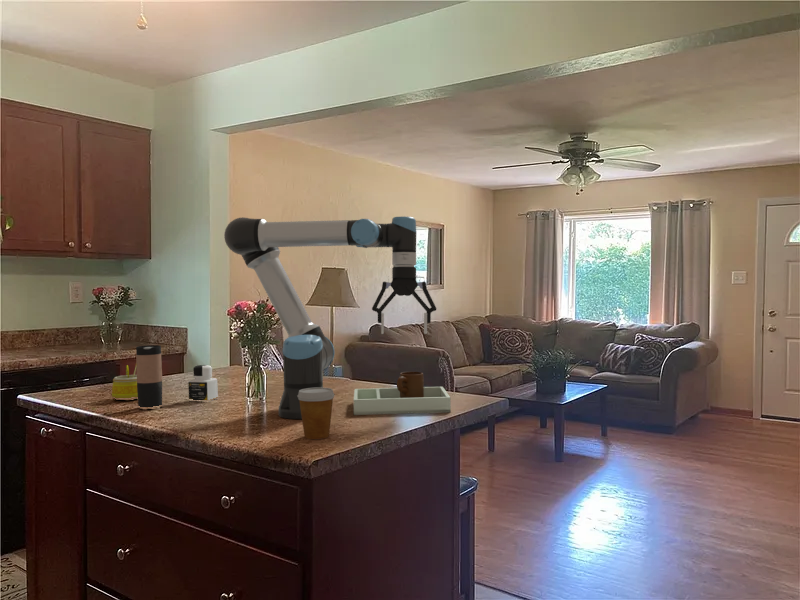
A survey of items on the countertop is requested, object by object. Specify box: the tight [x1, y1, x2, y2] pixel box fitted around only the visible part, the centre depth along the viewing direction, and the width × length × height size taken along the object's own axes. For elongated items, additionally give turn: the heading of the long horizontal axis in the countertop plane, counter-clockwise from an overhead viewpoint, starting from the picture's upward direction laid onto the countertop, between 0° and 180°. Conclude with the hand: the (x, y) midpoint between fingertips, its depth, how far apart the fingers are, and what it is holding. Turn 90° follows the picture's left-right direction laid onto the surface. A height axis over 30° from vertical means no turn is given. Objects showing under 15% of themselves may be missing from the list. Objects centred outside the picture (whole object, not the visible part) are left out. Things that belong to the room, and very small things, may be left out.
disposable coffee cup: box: [297, 387, 336, 440], centre depth 167 cm, size 10×10×12 cm
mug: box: [396, 371, 425, 398], centre depth 204 cm, size 12×8×9 cm, turn 148°
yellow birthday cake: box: [111, 363, 138, 398], centre depth 228 cm, size 13×11×12 cm
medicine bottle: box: [187, 364, 219, 400], centre depth 223 cm, size 7×7×12 cm
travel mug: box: [135, 344, 163, 407], centre depth 210 cm, size 8×8×20 cm
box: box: [353, 386, 452, 416], centre depth 204 cm, size 29×20×4 cm
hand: (404, 333), depth 205 cm, fingers open, 13 cm apart
